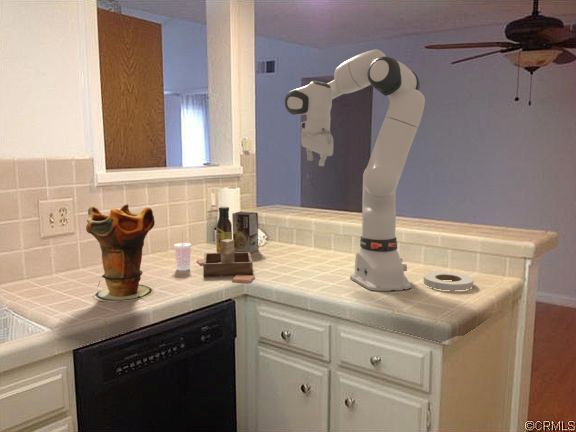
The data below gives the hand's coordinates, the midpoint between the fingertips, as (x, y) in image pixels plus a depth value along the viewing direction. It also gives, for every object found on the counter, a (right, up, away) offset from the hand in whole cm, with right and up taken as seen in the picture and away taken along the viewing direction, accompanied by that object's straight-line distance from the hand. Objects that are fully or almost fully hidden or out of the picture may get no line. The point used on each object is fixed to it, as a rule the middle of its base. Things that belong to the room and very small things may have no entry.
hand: (315, 163), depth 197 cm
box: (-32, -40, -10) cm, 52 cm away
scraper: (-32, -39, -10) cm, 51 cm away
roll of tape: (+41, -43, -29) cm, 66 cm away
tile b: (-25, -42, -23) cm, 54 cm away
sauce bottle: (-36, -36, +12) cm, 53 cm away
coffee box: (-28, -35, +22) cm, 50 cm away
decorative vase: (-61, -44, -38) cm, 84 cm away
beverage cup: (-48, -39, -8) cm, 63 cm away
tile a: (-42, -38, +1) cm, 57 cm away
